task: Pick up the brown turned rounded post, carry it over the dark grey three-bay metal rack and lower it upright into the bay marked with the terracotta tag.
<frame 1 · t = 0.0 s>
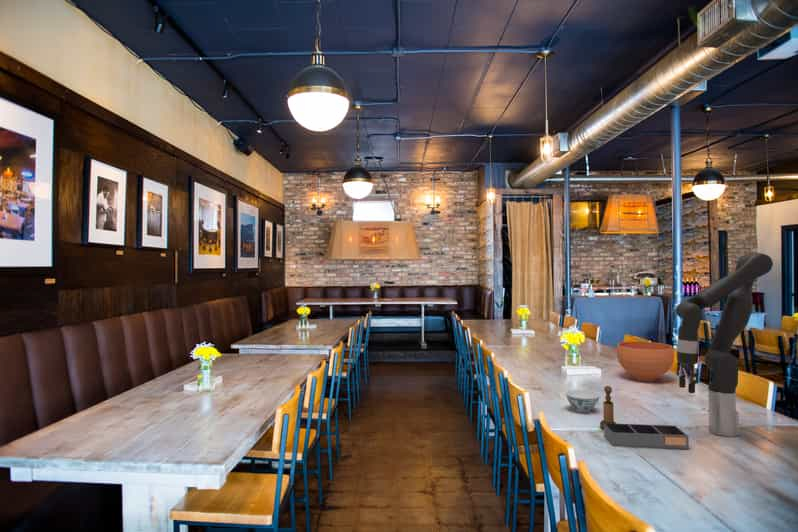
hand: (686, 390, 191), 17 cm above the table, tool pointing down, fingers open, 8 cm apart
chinaware: (582, 410, 222), on the table
bowl: (644, 379, 278), on the table
rack: (644, 442, 181), on the table
brown turned rounded post: (608, 429, 197), on the table
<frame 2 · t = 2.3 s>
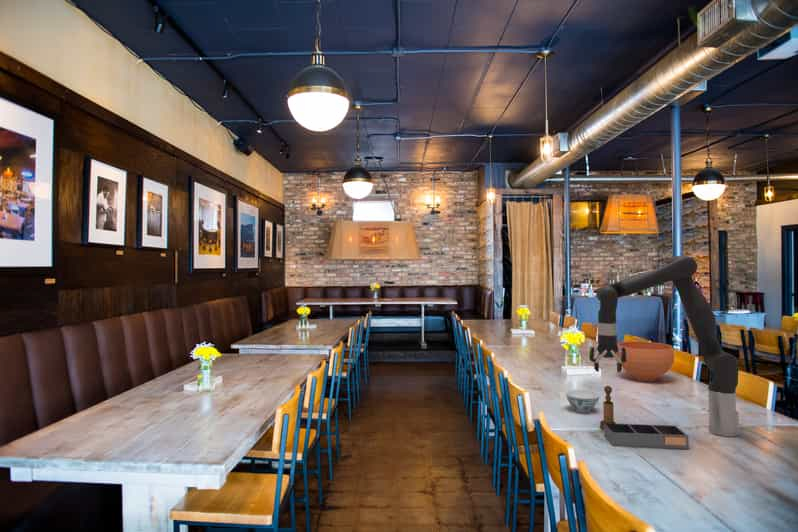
hand: (607, 371, 197), 24 cm above the table, tool pointing down, fingers open, 8 cm apart
nothing on the table moved.
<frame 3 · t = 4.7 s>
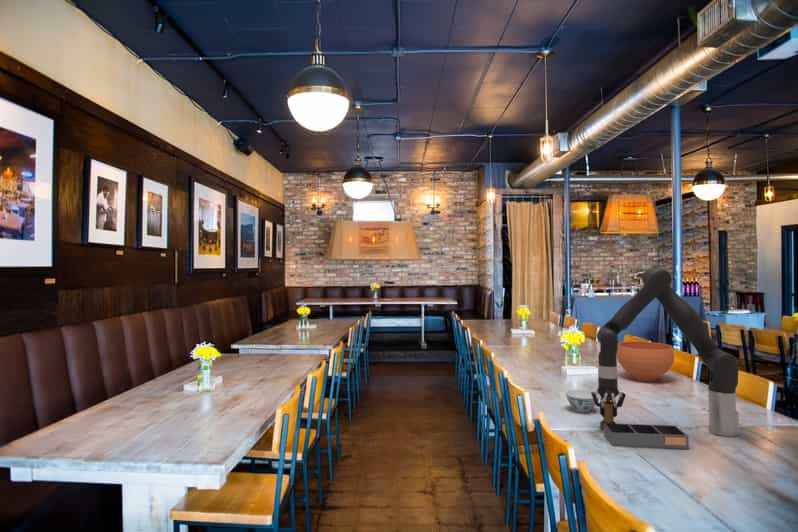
hand: (608, 416, 197), 5 cm above the table, tool pointing down, fingers closed on brown turned rounded post, 4 cm apart
brown turned rounded post: (608, 429, 197), on the table, touching gripper
everything else where it was.
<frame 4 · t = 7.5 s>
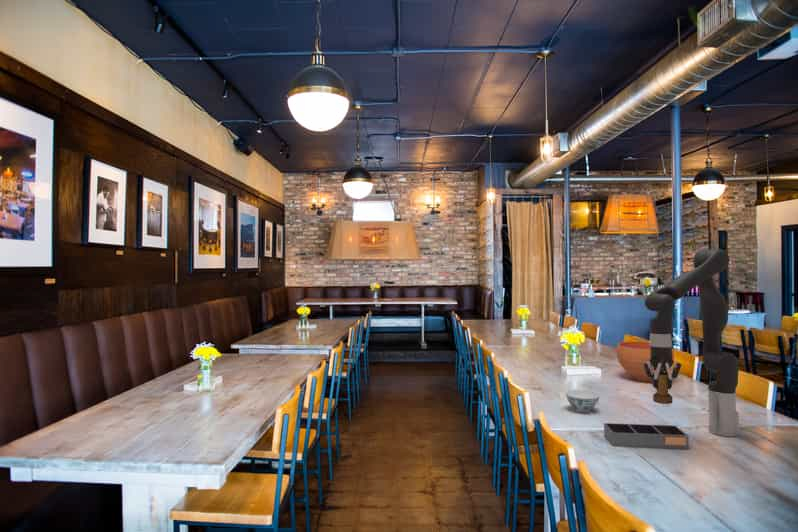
hand: (662, 388, 182), 21 cm above the table, tool pointing down, fingers closed on brown turned rounded post, 4 cm apart
brown turned rounded post: (662, 402, 182), point 15 cm above the table, touching gripper
everything else where it was.
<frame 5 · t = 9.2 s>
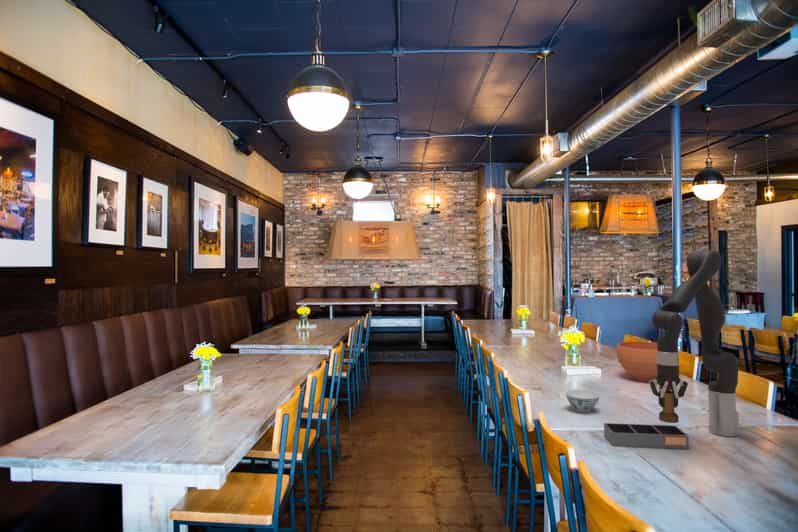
hand: (668, 406, 180), 14 cm above the table, tool pointing down, fingers closed on brown turned rounded post, 4 cm apart
brown turned rounded post: (668, 420, 180), point 9 cm above the table, touching gripper
everything else where it was.
when the fingers open (8 cm above the table, at t = 10.7 s): brown turned rounded post drops 1 cm, resting on rack.
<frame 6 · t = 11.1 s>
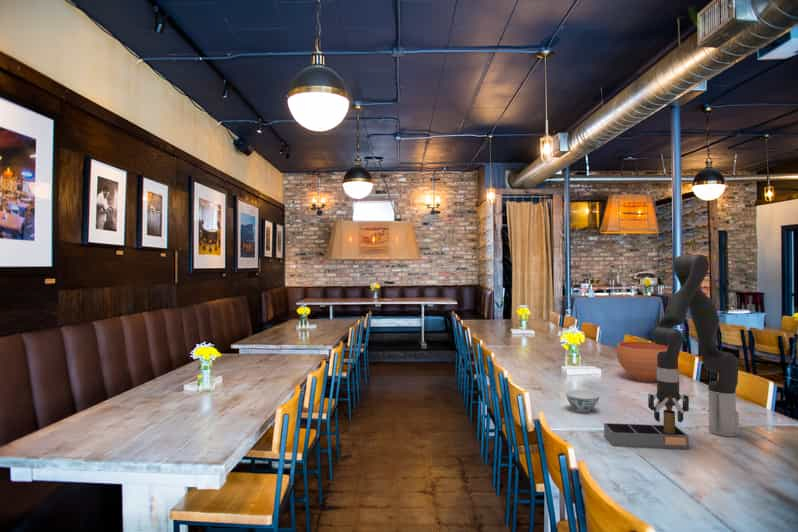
hand: (668, 421, 180), 8 cm above the table, tool pointing down, fingers open, 7 cm apart
brown turned rounded post: (669, 440, 180), point 1 cm above the table, touching rack
everything else where it was.
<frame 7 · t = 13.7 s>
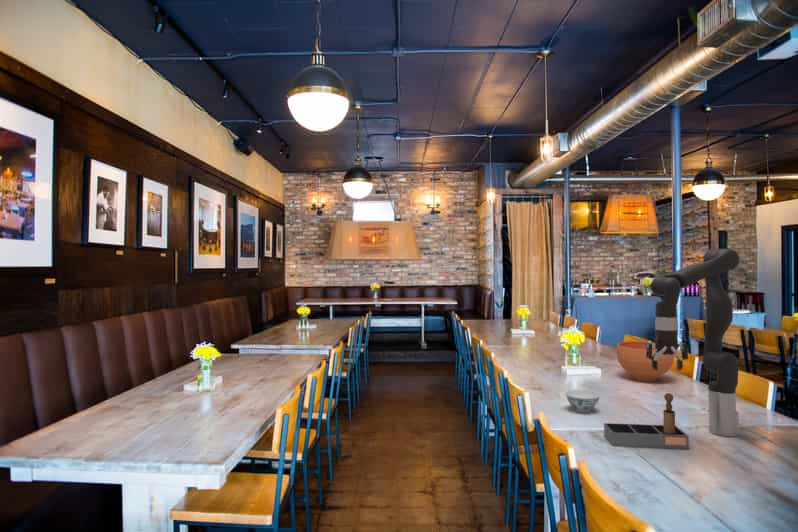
hand: (667, 369, 181), 28 cm above the table, tool pointing down, fingers open, 8 cm apart
nothing on the table moved.
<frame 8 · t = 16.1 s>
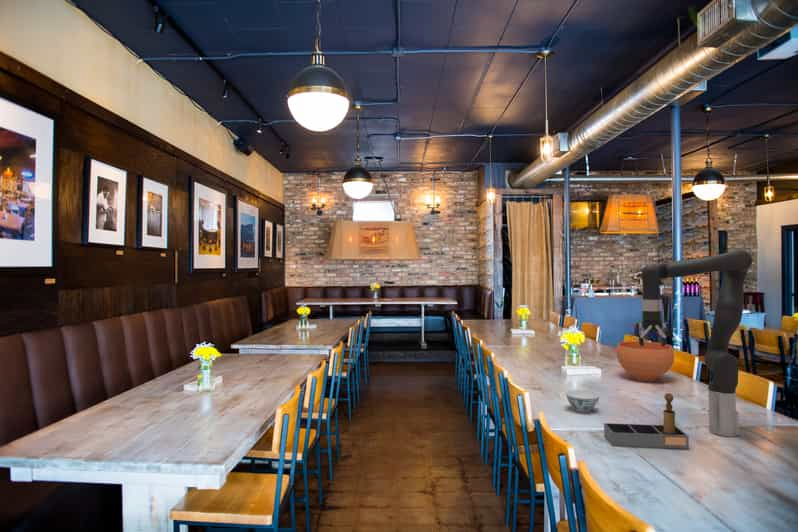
hand: (652, 346, 205), 33 cm above the table, tool pointing down, fingers open, 8 cm apart
nothing on the table moved.
at the end: brown turned rounded post inside the target area on the rack (0.2 cm from its centre), point 1.0 cm above the rack's base; brown turned rounded post tilted 0°; the gripper is holding nothing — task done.
